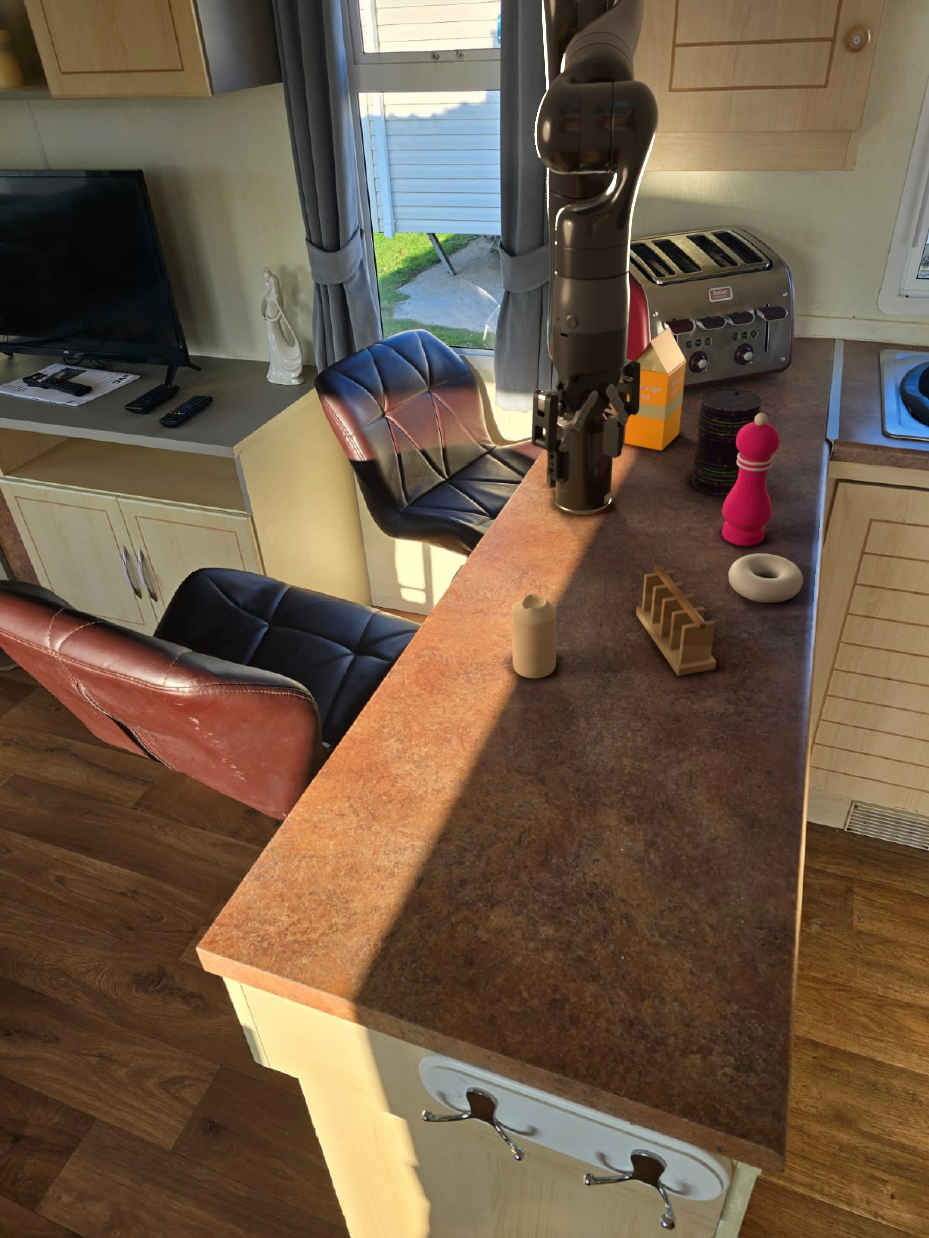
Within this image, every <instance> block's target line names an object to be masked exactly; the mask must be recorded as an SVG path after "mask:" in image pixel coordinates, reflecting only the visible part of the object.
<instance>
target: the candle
mask: <svg viewBox="0 0 929 1238" xmlns="http://www.w3.org/2000/svg"><path fill="white" fill-rule="evenodd" d="M510 615H511V617H510V618H511V646H512V647H511V651H512V653H511V654H512V667H513V669H514V671H515V672H516V673H517V674H518V675H519V676H522V677H523V678H527V679H541V678H545V677H548V676H549V675H551V674H552V673H553V672H554V670H555V669H556V665H557V608H556V606H555V605H554V604H553V603H552V602H551V601H550V600H548V599H547V598H543V597H540V596H538V595H537V594H534V593H529V594H528V595H527V596H525V597H523V598H522V599H521V600H519V601H517V602H515V604H513V606H512V607H511V610H510Z"/></svg>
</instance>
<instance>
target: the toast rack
mask: <svg viewBox="0 0 929 1238" xmlns="http://www.w3.org/2000/svg"><path fill="white" fill-rule="evenodd" d="M653 569H654V570H653V571H654V572H650V573H645V574H644V576H643V589H642V601H641V606H636V609H635V610H636V611H635V615H636V617H637V618H638V620H639V621H640V622H641V624H642V625H643V627H644V628H645V630H646V631H647V633H648V634H649V636H650V637H651V639H652V640H653V641H654V643H655V645H656V646H657V648H658V649H659V650H660V652H661V653H662V655H663V657H665V660H666V661H667V662H668V665H670V667H671V668H672V670H673V671H674V672H675V674H676V676H678V677H681V676H685V675H690V674H696V673H702V672H706V671H712V670H716V666H717V661H716V659H715V658H714V657H713V655H712V649H713V642H714V635H715V628H716V622H715V621H714V620H713V619H711V620H704V616H705V608H704V607H703V606H697V607H694V602H695V595H694V594H693V593H688V594H684V590H685V583H684V582H683V581H677V582H675V574H676V573H675V572H676V571H675V570H674V569H668V570H665V569H664V568H663V567H662V566H661V564H655V565H654V568H653Z"/></svg>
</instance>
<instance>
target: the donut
mask: <svg viewBox="0 0 929 1238" xmlns="http://www.w3.org/2000/svg"><path fill="white" fill-rule="evenodd" d="M727 575H728V582H729V585H730V586H731V587H732V588H733V590H734V591H735V592H736V593H738V594H739V595H741V597H744V598H746V599H749V600H751V601H754V602H758V603H767V604H770V603H771V604H775V603H782V602H784V601H787V600H790V599H792V598H793V597H795V596H796V595H797V594H798V593H799V592H800V591H801V588H802V586H803V584H804V578H803V573H802V571H801V569H800V568H799V567H798V566H797V565H796V564H795V563H794V562H792V561H791V560H790V559H788V558H785V557H783V556H780V555H775V554H773V553H752V554H751V553H749V554H747V555H744V556H741V557H739V558H738V559H736V560H735V561H734V562H733V563H732V564H731V566H730V568H729V570H728V574H727Z"/></svg>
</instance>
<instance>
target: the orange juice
mask: <svg viewBox="0 0 929 1238" xmlns="http://www.w3.org/2000/svg"><path fill="white" fill-rule="evenodd" d="M634 361H636V362H639V363H640V366H641V367H640V405H639V412H638V413H637V414H636V415H630V416H629V417H628V422H627V423H626V425H625V429H624V444H626V445H629V446H630V445H631V446H636V447H641V448H647V449H652V450H656V451H657V450H658V451H663V450H664V449H665V448H666V447H667V446H668V445H669V444H670V443H671V442H673V440H674V439H675V438H676V437H677V436H678V435H680V427H681V426H680V424H681V415H682V408H683V407H682V406H683V397H684V385H685V376H686V364H687V359H686V358H685V356H684V354H683V352H682V351H681V348H680V347H679V345H678V343H677V341H676V339H675V337H674V334H673V333H672V331H671V330H670V327H667V328H666V329H665V330H664V331H662V332H661V333H659V334H658V335H657V336H655V337H654V338H652V339H651V340H650V341H649V343H647V345H646V347H645V348H644V349H643V350H642V352H641V353H640V354H638V356H637V358H635V360H634ZM626 401H629V395H628V394H627V395H626Z"/></svg>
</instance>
